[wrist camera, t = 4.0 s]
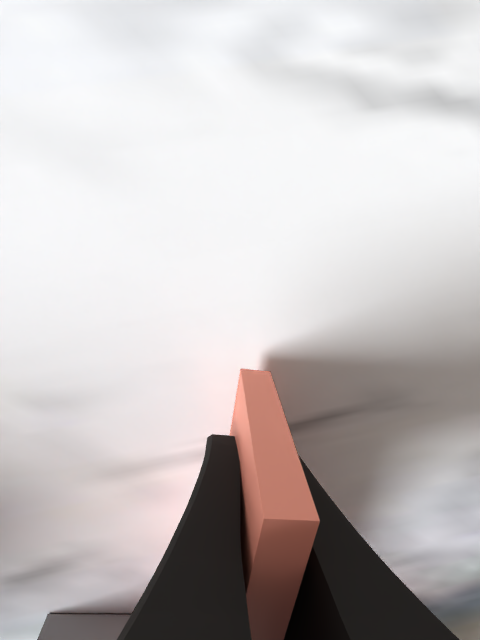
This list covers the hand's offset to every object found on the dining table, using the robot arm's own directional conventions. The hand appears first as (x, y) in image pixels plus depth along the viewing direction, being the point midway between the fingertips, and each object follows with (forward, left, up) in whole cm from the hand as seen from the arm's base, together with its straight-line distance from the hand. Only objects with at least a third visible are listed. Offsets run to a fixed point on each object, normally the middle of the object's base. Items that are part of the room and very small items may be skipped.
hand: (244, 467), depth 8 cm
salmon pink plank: (-4, 0, -1) cm, 4 cm away
